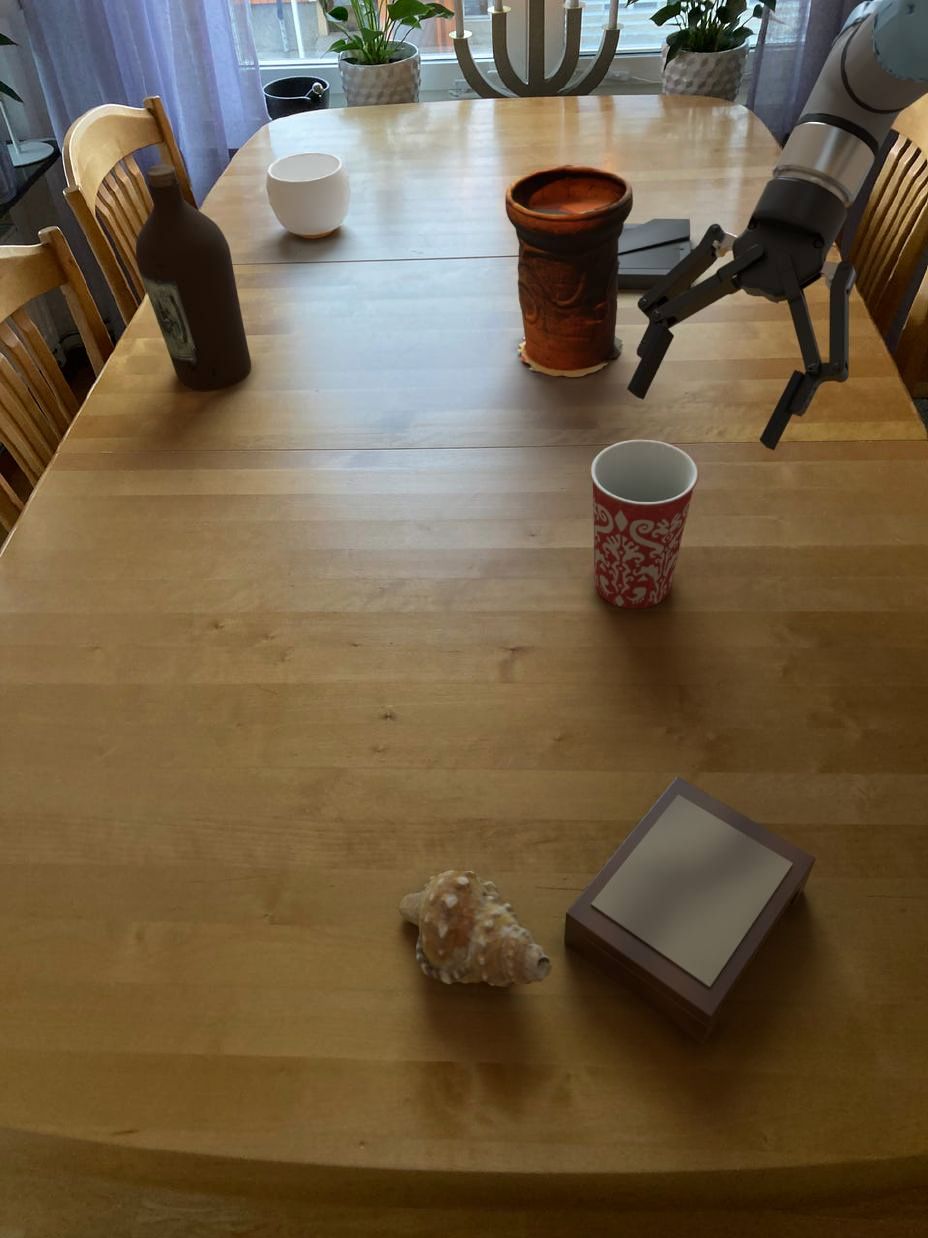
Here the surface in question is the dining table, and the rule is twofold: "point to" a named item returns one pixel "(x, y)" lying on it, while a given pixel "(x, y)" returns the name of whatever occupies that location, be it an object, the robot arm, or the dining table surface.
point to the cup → (309, 193)
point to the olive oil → (191, 288)
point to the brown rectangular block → (686, 905)
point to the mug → (639, 519)
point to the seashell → (471, 933)
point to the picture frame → (651, 251)
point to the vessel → (568, 265)
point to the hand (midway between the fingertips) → (698, 419)
